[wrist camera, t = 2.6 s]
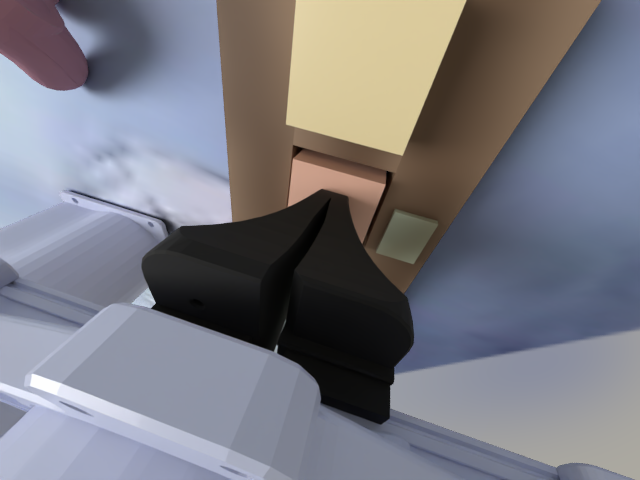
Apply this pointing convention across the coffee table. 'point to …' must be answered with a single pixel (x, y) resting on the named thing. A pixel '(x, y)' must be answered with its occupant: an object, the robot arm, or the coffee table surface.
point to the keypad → (430, 129)
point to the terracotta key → (338, 184)
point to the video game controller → (41, 44)
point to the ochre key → (366, 66)
